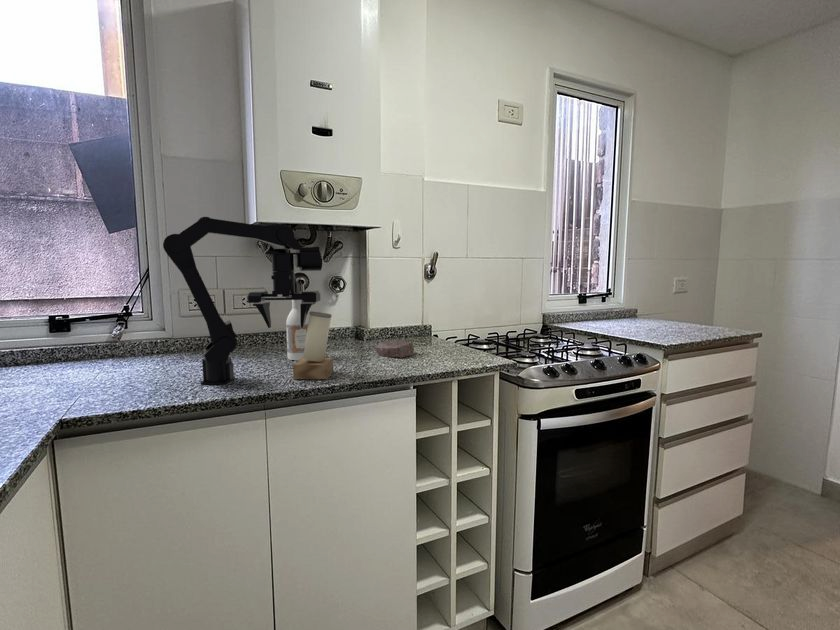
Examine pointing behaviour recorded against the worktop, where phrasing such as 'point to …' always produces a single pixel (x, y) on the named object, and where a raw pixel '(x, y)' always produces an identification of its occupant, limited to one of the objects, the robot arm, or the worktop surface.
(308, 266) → the robot arm
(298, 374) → the walnut box
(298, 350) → the bath foam
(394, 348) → the stone
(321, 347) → the tea tin
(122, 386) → the worktop surface
